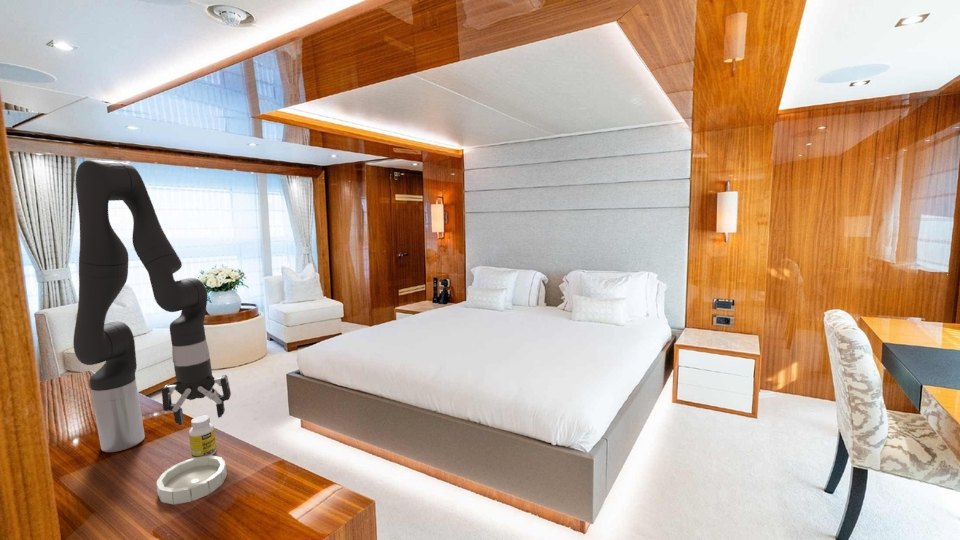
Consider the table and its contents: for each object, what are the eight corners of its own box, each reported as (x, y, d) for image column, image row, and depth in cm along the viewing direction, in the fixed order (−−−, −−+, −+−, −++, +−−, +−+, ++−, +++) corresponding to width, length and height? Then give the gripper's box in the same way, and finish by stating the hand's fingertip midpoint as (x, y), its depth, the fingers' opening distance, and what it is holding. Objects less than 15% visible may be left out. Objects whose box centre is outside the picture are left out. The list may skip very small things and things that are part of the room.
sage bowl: (153, 484, 101) (152, 473, 100) (217, 460, 110) (215, 449, 109) (165, 512, 92) (163, 500, 91) (233, 483, 101) (232, 471, 100)
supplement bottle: (205, 461, 109) (200, 425, 108) (186, 459, 110) (181, 423, 109) (221, 449, 114) (217, 414, 113) (204, 447, 116) (199, 412, 114)
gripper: (226, 350, 114) (234, 407, 117) (162, 359, 109) (171, 419, 111) (222, 359, 107) (230, 420, 110) (152, 369, 102) (163, 433, 105)
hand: (201, 419), depth 111 cm, fingers open, 8 cm apart
